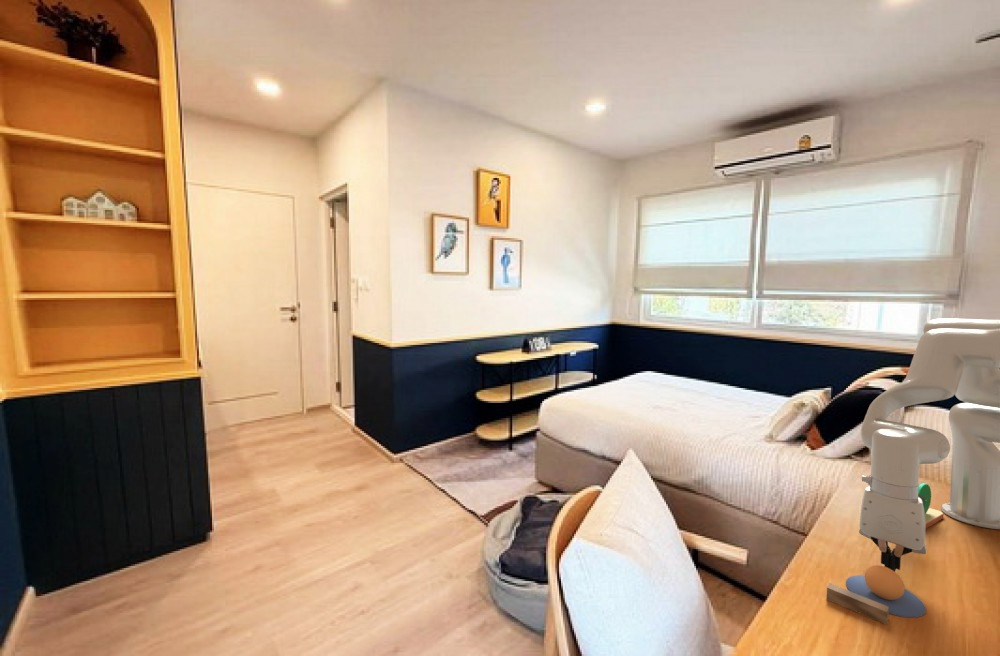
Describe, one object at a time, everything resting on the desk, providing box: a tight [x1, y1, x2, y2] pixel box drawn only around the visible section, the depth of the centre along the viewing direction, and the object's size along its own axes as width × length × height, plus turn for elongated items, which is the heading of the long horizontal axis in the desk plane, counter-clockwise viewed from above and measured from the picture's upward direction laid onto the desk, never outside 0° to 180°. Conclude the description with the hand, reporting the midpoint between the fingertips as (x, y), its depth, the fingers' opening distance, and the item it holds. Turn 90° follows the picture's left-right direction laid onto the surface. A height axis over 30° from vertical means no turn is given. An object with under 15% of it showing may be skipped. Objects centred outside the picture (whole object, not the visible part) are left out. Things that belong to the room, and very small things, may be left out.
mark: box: [845, 574, 927, 618], centre depth 85 cm, size 12×12×1 cm
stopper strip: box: [826, 583, 890, 626], centre depth 82 cm, size 9×2×2 cm, turn 40°
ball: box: [864, 565, 906, 600], centre depth 85 cm, size 6×6×6 cm
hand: (890, 569), depth 91 cm, fingers closed
